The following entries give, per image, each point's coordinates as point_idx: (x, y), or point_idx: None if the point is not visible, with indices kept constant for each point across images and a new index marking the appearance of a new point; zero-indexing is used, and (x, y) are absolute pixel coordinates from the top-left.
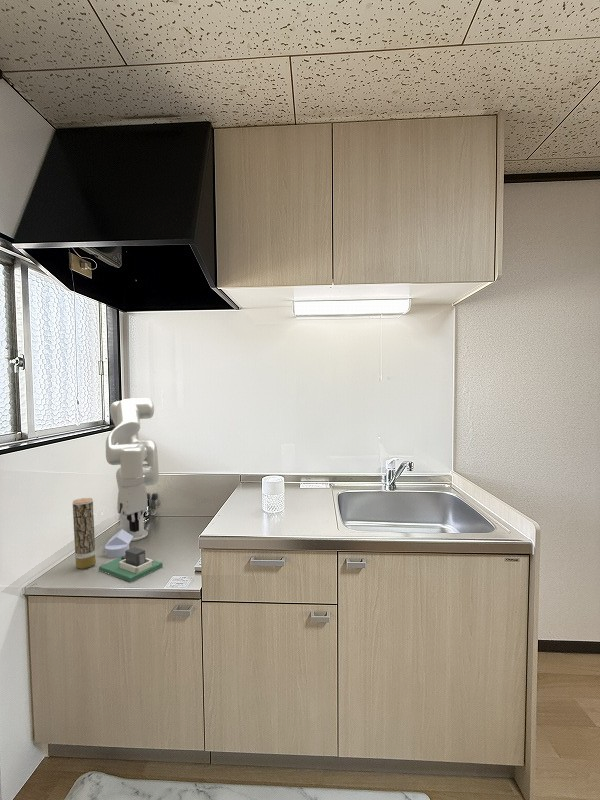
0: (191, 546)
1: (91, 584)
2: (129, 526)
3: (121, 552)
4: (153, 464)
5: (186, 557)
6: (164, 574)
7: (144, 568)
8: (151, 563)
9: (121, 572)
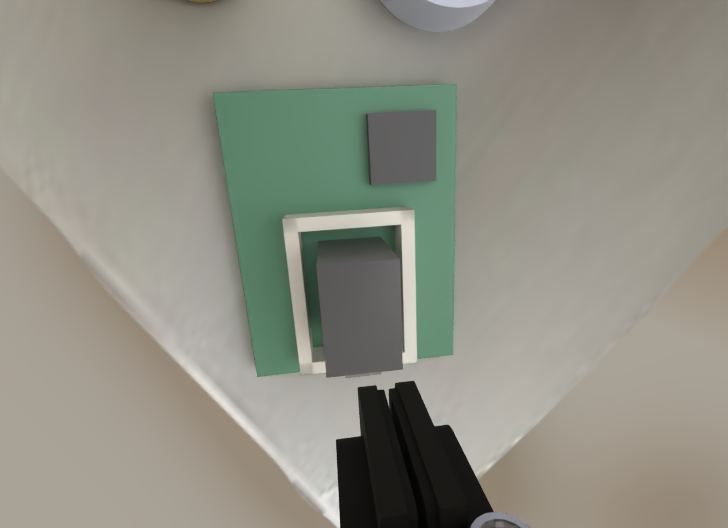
0: (681, 267)
1: (110, 230)
2: (338, 469)
3: (426, 19)
4: None
5: (569, 349)
6: None
7: None
8: None
9: (260, 286)
